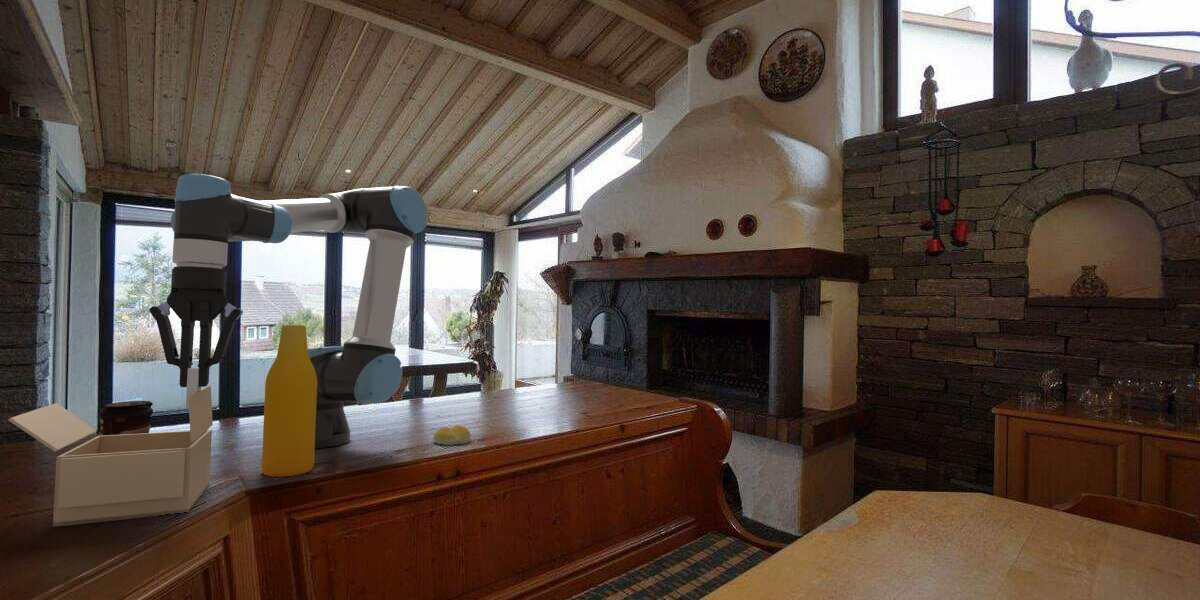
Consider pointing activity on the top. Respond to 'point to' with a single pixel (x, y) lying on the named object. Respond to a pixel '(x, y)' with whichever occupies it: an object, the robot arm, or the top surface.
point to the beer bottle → (290, 408)
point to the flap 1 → (53, 426)
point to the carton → (131, 477)
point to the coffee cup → (126, 418)
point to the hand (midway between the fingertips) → (193, 406)
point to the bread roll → (452, 436)
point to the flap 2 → (200, 412)
